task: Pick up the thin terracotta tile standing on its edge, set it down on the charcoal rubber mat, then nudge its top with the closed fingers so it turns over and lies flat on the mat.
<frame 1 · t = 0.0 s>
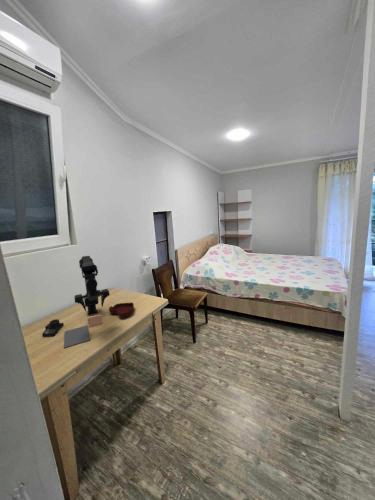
hand: (94, 308, 125), 15 cm above the table, fingers open, 9 cm apart
mat: (76, 336, 123), on the table
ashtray: (124, 313, 150), on the table
tile: (95, 324, 135), on the table
film camera: (53, 331, 129), on the table
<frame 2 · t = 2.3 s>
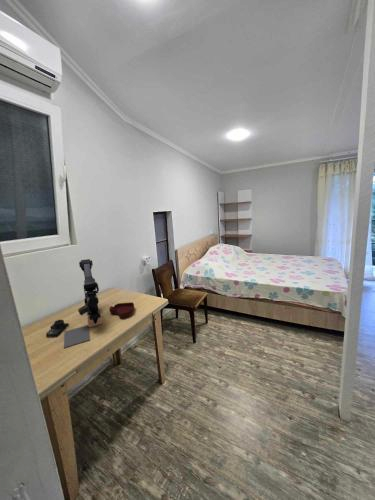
hand: (95, 322, 134), 1 cm above the table, fingers closed on tile, 2 cm apart
tile: (95, 324, 135), on the table, touching gripper
film camera: (58, 331, 129), on the table
everything else where it was.
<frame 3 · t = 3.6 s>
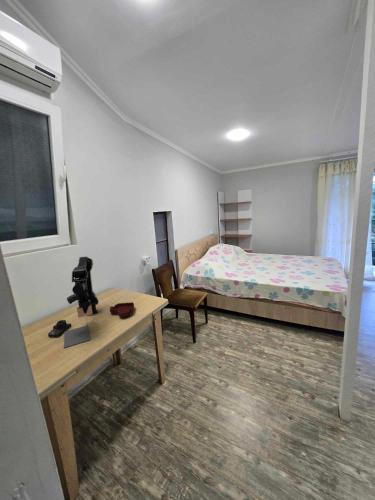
hand: (85, 312, 127), 11 cm above the table, fingers closed on tile
tile: (85, 315, 127), point 10 cm above the table, touching gripper
film camera: (60, 332, 128), on the table, touching mat
everything else where it was.
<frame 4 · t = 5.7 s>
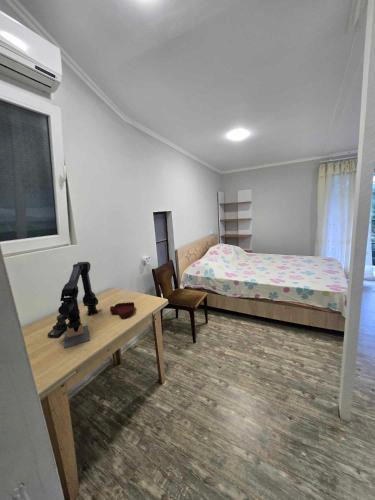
hand: (76, 331, 123), 3 cm above the table, fingers closed
tile: (76, 334, 123), point 1 cm above the table, touching mat
film camera: (59, 332, 128), on the table
everything else where it was.
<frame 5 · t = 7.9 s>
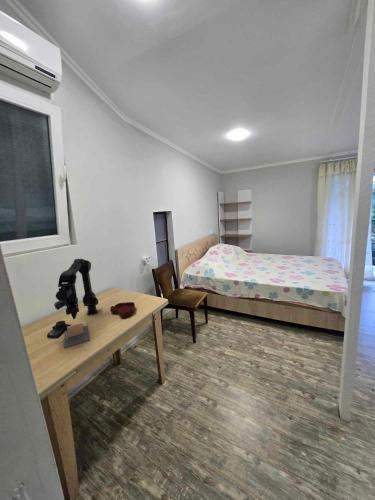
hand: (74, 318, 121), 11 cm above the table, fingers closed
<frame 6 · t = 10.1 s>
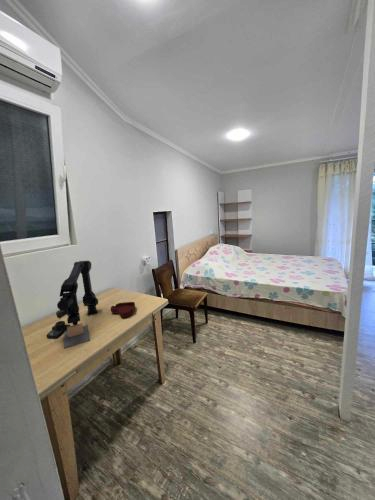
hand: (75, 326, 124), 5 cm above the table, fingers closed
tile: (76, 334, 123), point 1 cm above the table, touching gripper, mat
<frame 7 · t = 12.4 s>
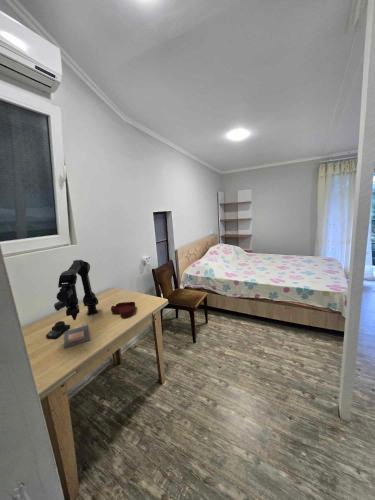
hand: (74, 319, 118), 12 cm above the table, fingers closed
tile: (76, 334, 122), point 1 cm above the table, tilted 90°, touching mat
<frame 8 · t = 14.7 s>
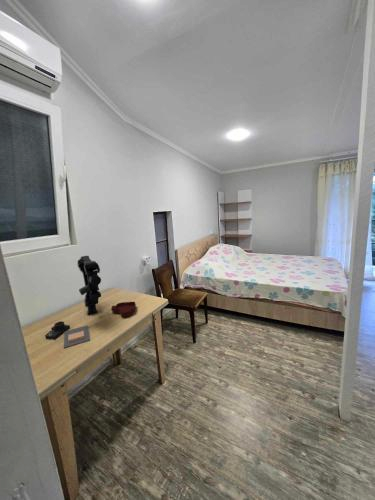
hand: (95, 303, 136), 13 cm above the table, fingers closed
at the end: tile tilted 90°; tile inside the target area on the mat (0.7 cm from its centre), point 1.4 cm above the mat's base; the gripper is holding nothing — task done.
